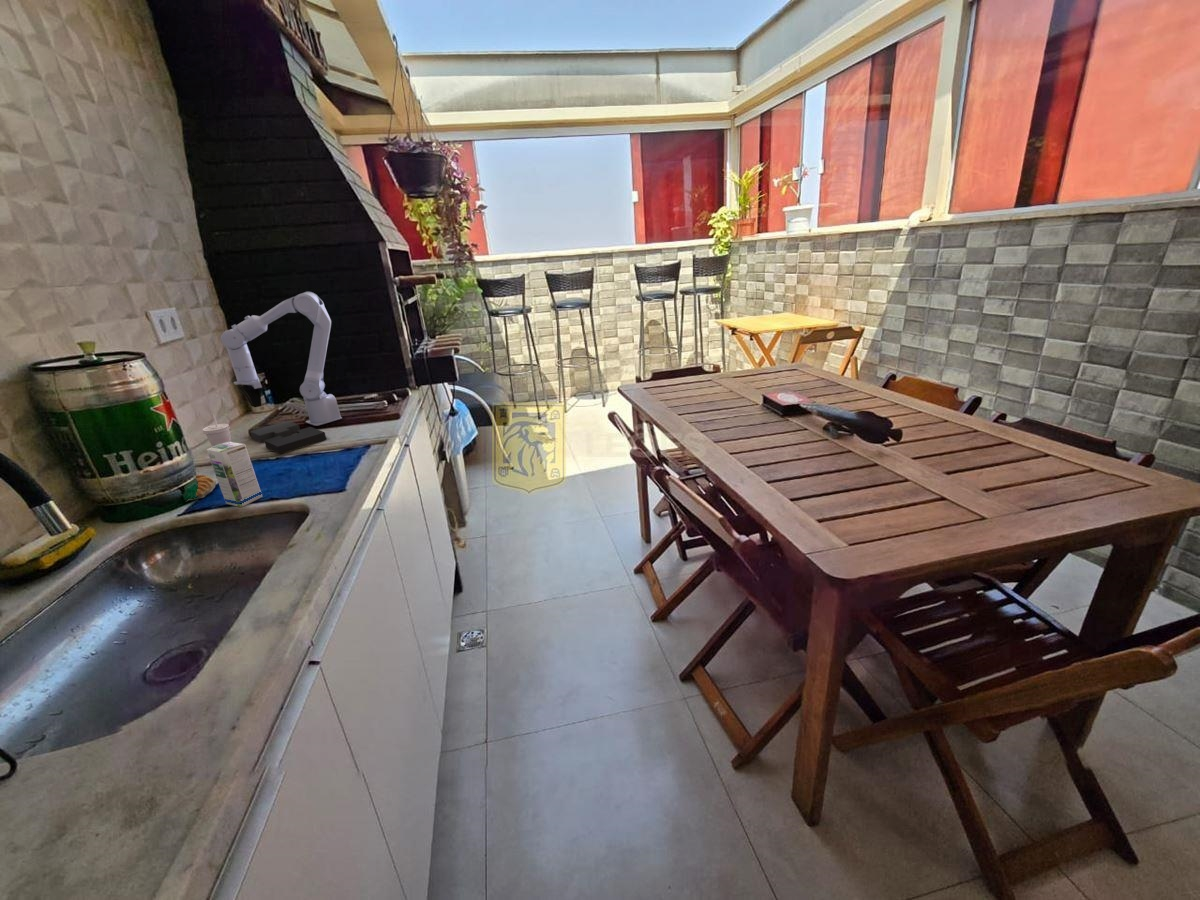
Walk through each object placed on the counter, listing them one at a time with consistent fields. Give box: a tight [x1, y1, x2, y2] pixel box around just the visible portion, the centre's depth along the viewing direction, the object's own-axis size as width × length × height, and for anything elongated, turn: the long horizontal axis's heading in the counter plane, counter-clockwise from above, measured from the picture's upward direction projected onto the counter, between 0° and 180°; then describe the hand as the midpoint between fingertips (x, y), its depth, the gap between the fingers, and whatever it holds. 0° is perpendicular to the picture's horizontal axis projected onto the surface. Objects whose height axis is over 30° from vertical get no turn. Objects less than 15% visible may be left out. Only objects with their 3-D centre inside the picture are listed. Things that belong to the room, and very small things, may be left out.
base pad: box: [263, 426, 327, 455], centre depth 154 cm, size 14×10×2 cm
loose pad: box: [249, 420, 301, 444], centre depth 162 cm, size 12×11×2 cm
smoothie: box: [202, 412, 232, 447], centre depth 143 cm, size 6×6×14 cm
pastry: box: [186, 474, 217, 502], centre depth 123 cm, size 9×7×4 cm
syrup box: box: [206, 441, 263, 508], centre depth 116 cm, size 6×6×14 cm
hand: (256, 406), depth 165 cm, fingers closed
